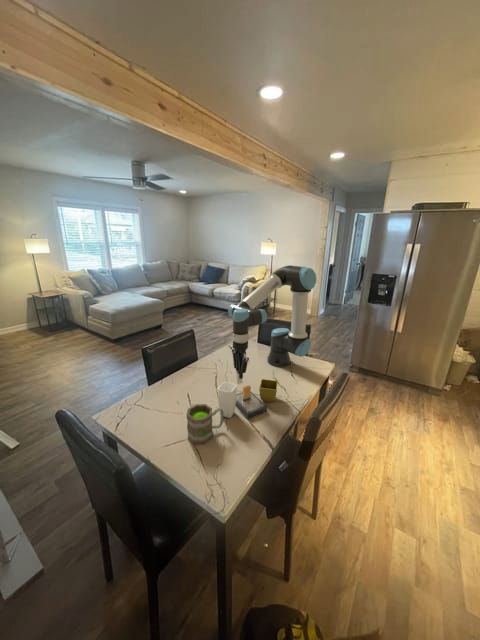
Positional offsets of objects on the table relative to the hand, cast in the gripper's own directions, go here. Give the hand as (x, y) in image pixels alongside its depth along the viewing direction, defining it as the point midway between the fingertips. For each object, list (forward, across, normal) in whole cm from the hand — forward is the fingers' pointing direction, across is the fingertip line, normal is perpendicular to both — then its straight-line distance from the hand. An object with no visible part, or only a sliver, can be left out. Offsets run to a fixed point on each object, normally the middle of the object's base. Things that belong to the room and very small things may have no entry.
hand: (239, 382), depth 134 cm
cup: (+9, +9, -12) cm, 17 cm away
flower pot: (+9, +9, +12) cm, 17 cm away
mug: (+9, +16, -26) cm, 32 cm away
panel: (+9, +9, 0) cm, 12 cm away
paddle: (+5, +7, 0) cm, 8 cm away
